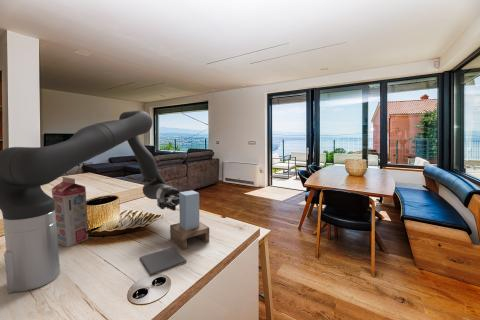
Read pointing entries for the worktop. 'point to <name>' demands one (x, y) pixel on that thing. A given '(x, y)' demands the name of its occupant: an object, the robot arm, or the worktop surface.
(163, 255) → the coaster
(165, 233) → the worktop surface
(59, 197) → the juice carton
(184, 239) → the riser
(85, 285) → the worktop surface
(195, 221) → the block
